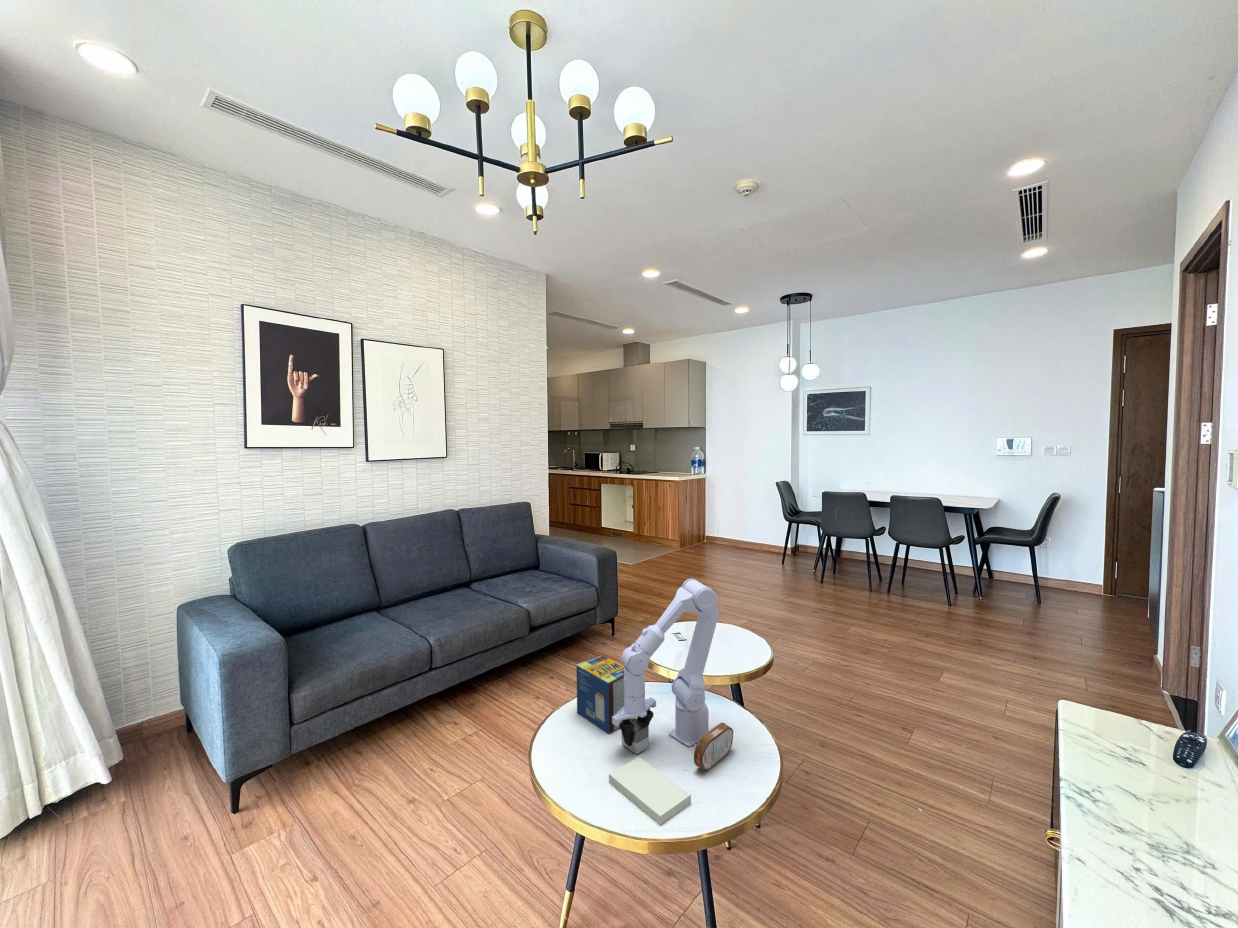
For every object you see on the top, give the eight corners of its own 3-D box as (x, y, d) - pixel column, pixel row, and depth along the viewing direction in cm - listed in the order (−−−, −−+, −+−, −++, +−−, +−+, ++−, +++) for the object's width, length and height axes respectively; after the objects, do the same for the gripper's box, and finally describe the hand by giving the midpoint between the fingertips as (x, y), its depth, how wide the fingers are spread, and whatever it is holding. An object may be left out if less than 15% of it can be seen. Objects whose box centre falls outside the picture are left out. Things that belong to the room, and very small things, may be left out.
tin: (725, 745, 137) (725, 716, 136) (735, 750, 135) (735, 720, 134) (692, 772, 126) (692, 740, 126) (702, 778, 124) (702, 745, 124)
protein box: (601, 700, 161) (601, 653, 160) (634, 720, 149) (634, 670, 148) (576, 713, 154) (575, 664, 153) (608, 734, 142) (608, 682, 141)
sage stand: (638, 764, 129) (638, 756, 129) (690, 802, 116) (690, 794, 116) (609, 781, 123) (608, 773, 123) (660, 824, 109) (660, 816, 109)
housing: (634, 736, 140) (633, 715, 140) (648, 747, 136) (648, 724, 135) (621, 743, 137) (621, 721, 137) (636, 754, 133) (636, 731, 132)
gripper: (624, 707, 128) (624, 758, 129) (663, 688, 137) (664, 736, 138) (606, 697, 133) (607, 745, 134) (646, 679, 143) (646, 725, 143)
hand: (635, 740), depth 136 cm, fingers closed on housing, 5 cm apart
